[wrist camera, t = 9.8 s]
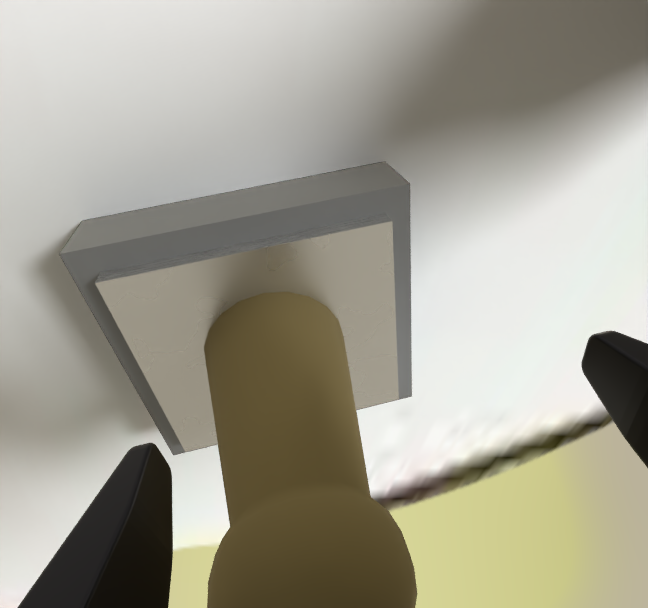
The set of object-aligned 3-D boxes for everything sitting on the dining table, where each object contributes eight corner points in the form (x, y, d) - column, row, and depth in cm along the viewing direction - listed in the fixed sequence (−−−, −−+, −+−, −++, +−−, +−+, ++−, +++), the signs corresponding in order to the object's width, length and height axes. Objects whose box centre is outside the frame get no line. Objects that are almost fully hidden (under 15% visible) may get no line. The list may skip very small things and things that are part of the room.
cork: (303, 411, 21) (363, 709, 12) (182, 381, 18) (142, 733, 9) (369, 319, 18) (508, 607, 9) (240, 269, 16) (262, 601, 7)
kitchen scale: (385, 161, 18) (417, 190, 15) (393, 365, 26) (417, 413, 23) (82, 220, 17) (51, 264, 14) (181, 416, 25) (175, 474, 21)
